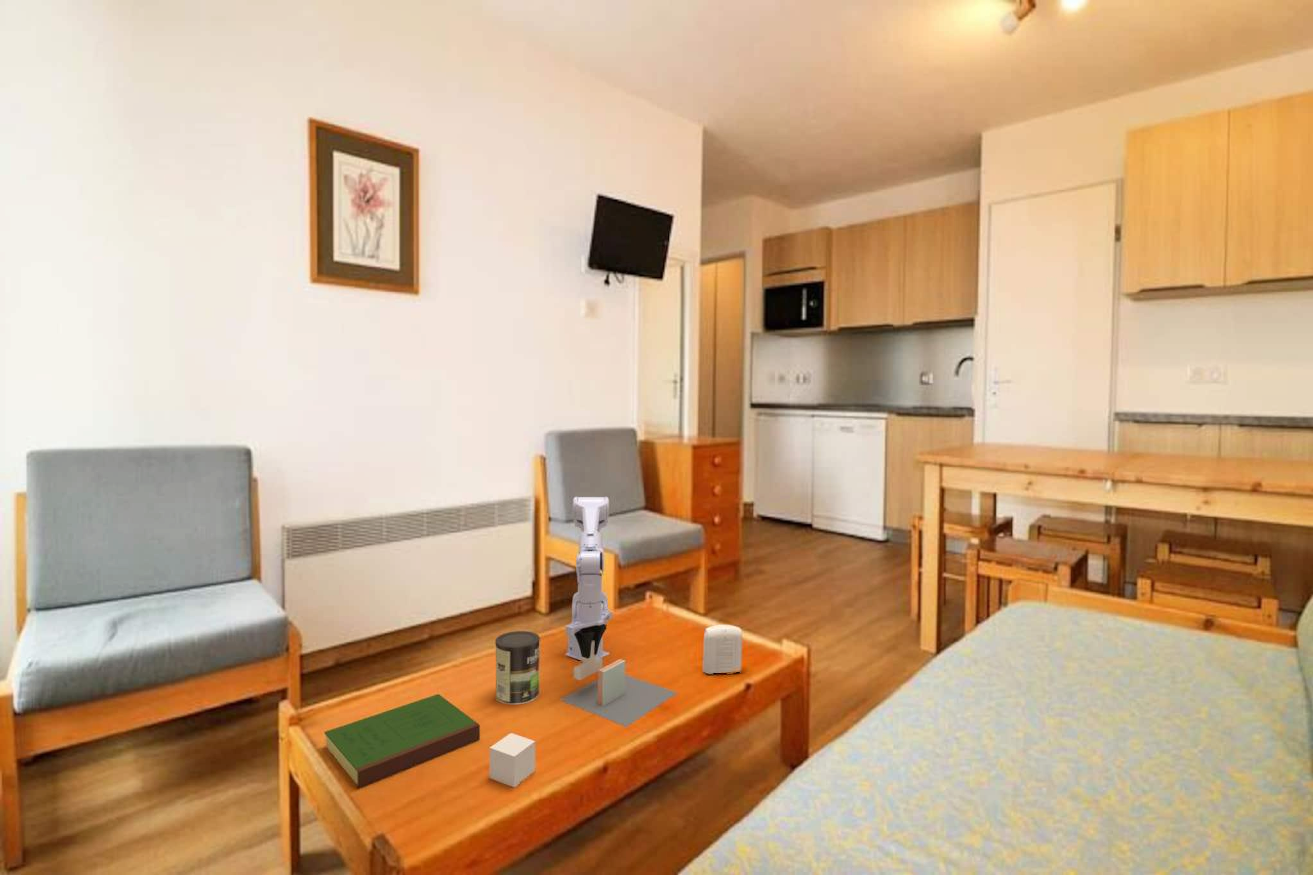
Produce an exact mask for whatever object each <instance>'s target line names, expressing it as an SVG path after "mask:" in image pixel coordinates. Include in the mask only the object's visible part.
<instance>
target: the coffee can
mask: <svg viewBox="0 0 1313 875" xmlns="http://www.w3.org/2000/svg"><path fill="white" fill-rule="evenodd" d="M540 639H541V637H540V636H539V634H538V633H535V632H532V631H525V630H521V631H520V630H518V631H517V630H516V631H510V632H506V633H502V634H501V635H498V636H497V637H496V639H495V700H496V702H500V703H502V704H506V705H521V704H522V705H523V704H527V703H530V702H532V701H534V700H535V699H537V698H538V696H540V695H539V694H540Z"/></svg>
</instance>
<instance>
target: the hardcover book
mask: <svg viewBox="0 0 1313 875" xmlns="http://www.w3.org/2000/svg"><path fill="white" fill-rule="evenodd" d="M480 725H481V724H480V723H478V722H477V721H475V720H474V719H473V718H471V717H470V716H469V715H467V714H466V713H465V712H463V711H462V710H461V709H460V708H458V707H457V706H455V705H454V704H453V703H451V702H450V701H449V700H447V699H446V698H445V697H444V696H442V695H441V694H439V693H437V694H434V695H431V696H428V697H424V698H422V699H419V700H415V701H413V702H410V703H407V704H404V705H401V706H398V707H395V708H392V709H388V710H386V711H383V712H380V713H377V714H374V715H371V716H368V717H364V718H362V719H358V720H356V721H353V722H351V723H347V724H343V725H340V726H338V727H334V728H331V729H330V730H329V729H328V730H326V731H324V735H325V744H326V745H325V747H326V749H327V748H328V749H329V750H328V749H327V750H328V751H329V753H330V754H331V753H332V754H333V755H334V756H333V755H332V754H331V755H332V756H333V757H334V758H335V760H336V759H337V760H336V761H337V762H338V763H339V764H340V766H341V765H342V766H341V767H342V768H343V770H344V771H345V770H346V771H345V773H347V774H348V776H349V777H350V778H351V779H352V780H353V782H354V783H355V784H356V785H357V789H358V790H359V789H361V788H364V787H366V786H367V787H368V786H369V785H372V784H374V783H376V782H379V781H382V780H385V779H386V778H389V777H391V776H394V775H397V774H399V773H401V772H403V771H407V770H409V769H411V768H414V767H416V766H419V765H420V764H421V765H422V764H424V763H426V762H428V761H431V760H434V759H437V758H438V757H441V756H444V755H446V754H448V753H451V752H453V751H457V750H458V749H461V748H463V747H465V746H468V745H471V744H473V743H476V742H478V741H480V739H481V738H480V736H481V735H480V734H481V733H480V731H481V730H480V728H481V726H480Z"/></svg>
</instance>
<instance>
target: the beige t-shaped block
mask: <svg viewBox="0 0 1313 875" xmlns="http://www.w3.org/2000/svg"><path fill="white" fill-rule="evenodd" d="M594 648H595V641H594V640H592V644H591V654H590V658H588V659H587V658H584V657H583V660H582V663H580V664H579V665H577V666H574V668H573V679H575V680H578V681H581V680H584V679H585V678H587V677H589V676H591V675H593V674H595V673H598V670H599V669H601V668H603V658H598V657H595V658H594Z"/></svg>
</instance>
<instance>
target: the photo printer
mask: <svg viewBox="0 0 1313 875" xmlns="http://www.w3.org/2000/svg"><path fill="white" fill-rule="evenodd" d="M742 650H743V632H742V629H741V627H738V626H735V625H731V624H718V625H717V624H716V625H714V626H710V627H707V628H705V630H704V634H703V653H702V654H703V655H702V672H703V673H704V672H705V673H704V674H706V673H707V674H706V675H714V674H713V673H721V672H731V671H739V670H741V671H742V654H743V651H742Z"/></svg>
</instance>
